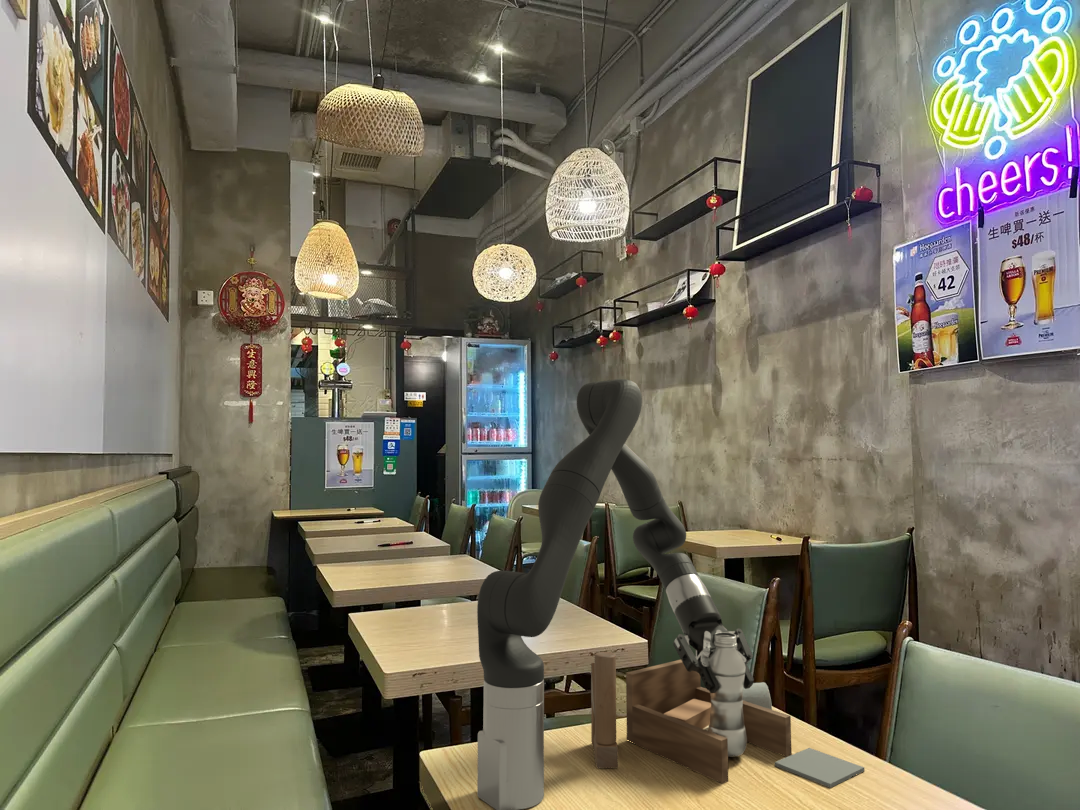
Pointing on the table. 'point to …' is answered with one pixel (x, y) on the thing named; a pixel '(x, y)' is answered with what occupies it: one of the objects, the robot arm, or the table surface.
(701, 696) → the walnut rack
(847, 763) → the slate mat
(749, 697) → the ceramic mug
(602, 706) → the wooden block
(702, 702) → the tan rectangular block
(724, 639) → the silver bottle
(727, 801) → the table surface
